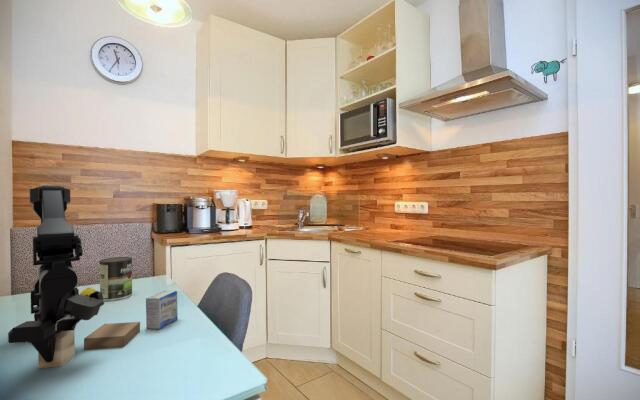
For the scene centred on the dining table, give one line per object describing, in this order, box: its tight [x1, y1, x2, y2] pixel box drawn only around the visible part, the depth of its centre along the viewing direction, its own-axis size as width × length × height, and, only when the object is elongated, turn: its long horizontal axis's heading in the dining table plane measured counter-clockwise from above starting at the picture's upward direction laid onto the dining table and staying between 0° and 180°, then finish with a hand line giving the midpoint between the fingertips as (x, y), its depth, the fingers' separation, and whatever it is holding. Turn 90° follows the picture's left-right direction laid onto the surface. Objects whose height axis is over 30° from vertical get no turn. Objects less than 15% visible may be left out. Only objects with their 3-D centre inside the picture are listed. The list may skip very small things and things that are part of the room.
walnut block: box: [83, 321, 141, 350], centre depth 80 cm, size 9×9×3 cm
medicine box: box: [145, 289, 178, 330], centre depth 91 cm, size 8×4×9 cm, turn 168°
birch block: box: [37, 329, 76, 369], centre depth 69 cm, size 4×4×6 cm
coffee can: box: [98, 256, 133, 302], centre depth 116 cm, size 10×10×14 cm
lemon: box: [79, 287, 97, 296], centre depth 100 cm, size 6×6×8 cm
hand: (57, 356), depth 69 cm, fingers closed on birch block, 4 cm apart
